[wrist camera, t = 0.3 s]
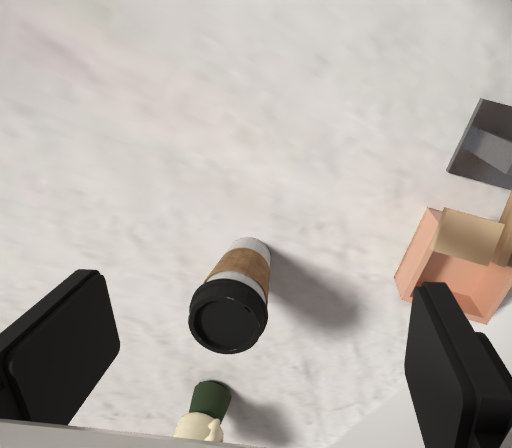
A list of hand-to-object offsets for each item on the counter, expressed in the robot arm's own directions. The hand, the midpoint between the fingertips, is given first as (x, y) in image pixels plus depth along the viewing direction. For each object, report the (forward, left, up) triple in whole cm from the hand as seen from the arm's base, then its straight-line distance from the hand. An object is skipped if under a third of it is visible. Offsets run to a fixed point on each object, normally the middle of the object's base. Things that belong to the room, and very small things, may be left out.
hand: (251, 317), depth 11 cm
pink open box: (+10, +22, -35) cm, 43 cm away
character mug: (+46, -2, -35) cm, 58 cm away
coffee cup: (+19, -2, -35) cm, 40 cm away
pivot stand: (-3, +22, -35) cm, 41 cm away
